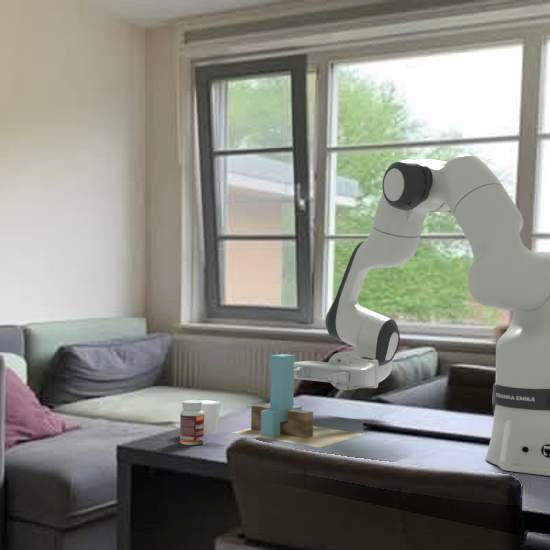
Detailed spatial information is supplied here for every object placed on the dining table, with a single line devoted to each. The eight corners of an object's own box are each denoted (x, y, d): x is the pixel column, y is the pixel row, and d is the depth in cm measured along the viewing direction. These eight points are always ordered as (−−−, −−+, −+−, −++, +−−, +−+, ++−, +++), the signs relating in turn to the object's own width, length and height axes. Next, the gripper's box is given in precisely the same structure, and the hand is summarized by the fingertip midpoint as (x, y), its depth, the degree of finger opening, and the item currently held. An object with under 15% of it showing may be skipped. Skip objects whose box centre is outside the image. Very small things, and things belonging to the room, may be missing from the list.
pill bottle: (199, 446, 155) (200, 403, 155) (176, 444, 156) (177, 402, 156) (206, 441, 160) (207, 400, 160) (184, 440, 161) (184, 399, 161)
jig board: (366, 441, 162) (366, 409, 162) (319, 455, 148) (320, 421, 148) (280, 427, 175) (281, 398, 175) (231, 439, 161) (231, 408, 161)
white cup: (200, 430, 171) (200, 398, 171) (226, 433, 168) (226, 400, 168) (181, 435, 165) (181, 402, 165) (208, 439, 162) (208, 405, 162)
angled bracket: (301, 430, 165) (302, 354, 165) (272, 437, 157) (273, 357, 157) (289, 428, 167) (290, 353, 167) (260, 435, 159) (261, 356, 159)
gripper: (309, 353, 188) (274, 358, 177) (384, 360, 176) (352, 365, 165) (309, 380, 188) (274, 385, 177) (384, 388, 176) (351, 395, 165)
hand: (312, 376), depth 171 cm, fingers open, 8 cm apart
